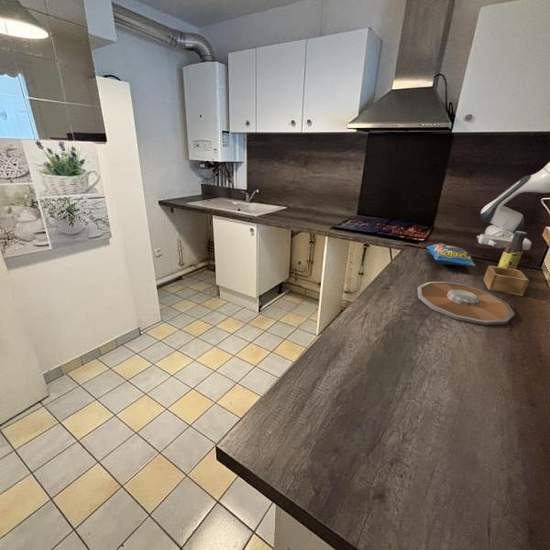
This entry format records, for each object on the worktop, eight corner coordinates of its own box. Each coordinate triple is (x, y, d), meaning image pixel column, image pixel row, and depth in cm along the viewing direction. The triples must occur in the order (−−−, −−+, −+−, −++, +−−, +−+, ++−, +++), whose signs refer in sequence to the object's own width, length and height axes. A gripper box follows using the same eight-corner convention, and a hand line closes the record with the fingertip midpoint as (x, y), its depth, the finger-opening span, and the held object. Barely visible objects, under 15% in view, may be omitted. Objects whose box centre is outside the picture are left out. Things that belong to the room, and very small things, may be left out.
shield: (427, 270, 122) (516, 292, 106) (425, 277, 123) (513, 300, 107) (408, 296, 100) (517, 329, 84) (406, 304, 101) (513, 338, 85)
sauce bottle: (504, 278, 126) (522, 234, 118) (491, 273, 131) (507, 230, 123) (515, 277, 128) (534, 233, 120) (502, 272, 133) (518, 229, 125)
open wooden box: (514, 285, 120) (520, 270, 117) (522, 296, 111) (529, 280, 108) (483, 279, 124) (488, 265, 121) (488, 289, 115) (494, 274, 112)
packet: (432, 269, 132) (437, 251, 129) (424, 253, 153) (428, 237, 149) (474, 275, 128) (481, 257, 124) (460, 258, 149) (466, 242, 145)
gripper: (477, 229, 146) (483, 236, 135) (527, 235, 139) (537, 243, 127) (473, 241, 149) (478, 249, 137) (522, 248, 142) (531, 256, 130)
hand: (507, 246), depth 132 cm, fingers open, 8 cm apart
